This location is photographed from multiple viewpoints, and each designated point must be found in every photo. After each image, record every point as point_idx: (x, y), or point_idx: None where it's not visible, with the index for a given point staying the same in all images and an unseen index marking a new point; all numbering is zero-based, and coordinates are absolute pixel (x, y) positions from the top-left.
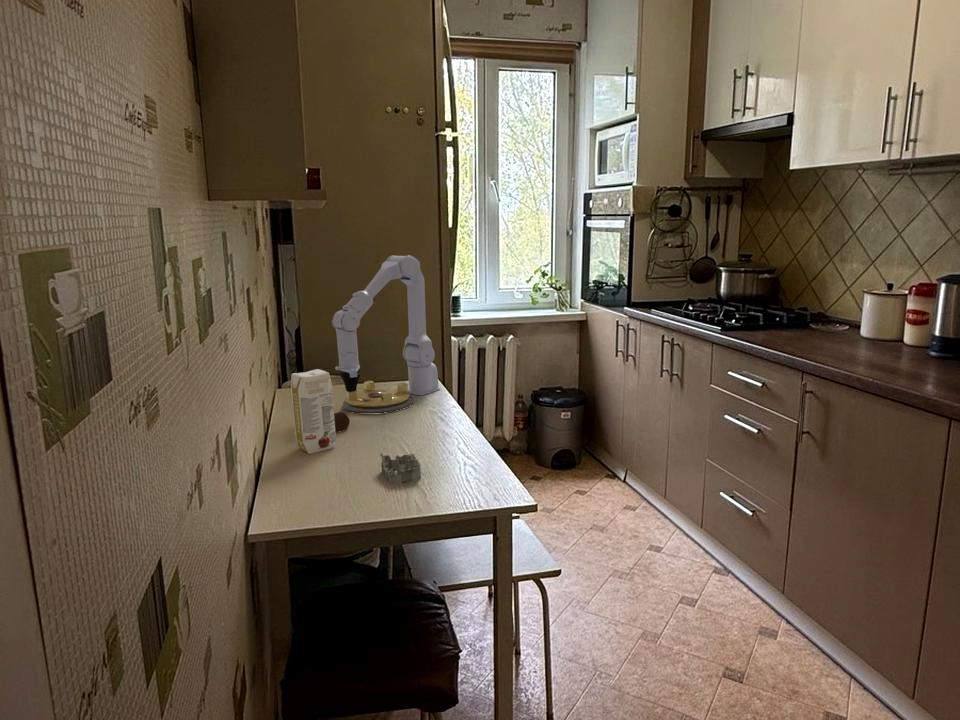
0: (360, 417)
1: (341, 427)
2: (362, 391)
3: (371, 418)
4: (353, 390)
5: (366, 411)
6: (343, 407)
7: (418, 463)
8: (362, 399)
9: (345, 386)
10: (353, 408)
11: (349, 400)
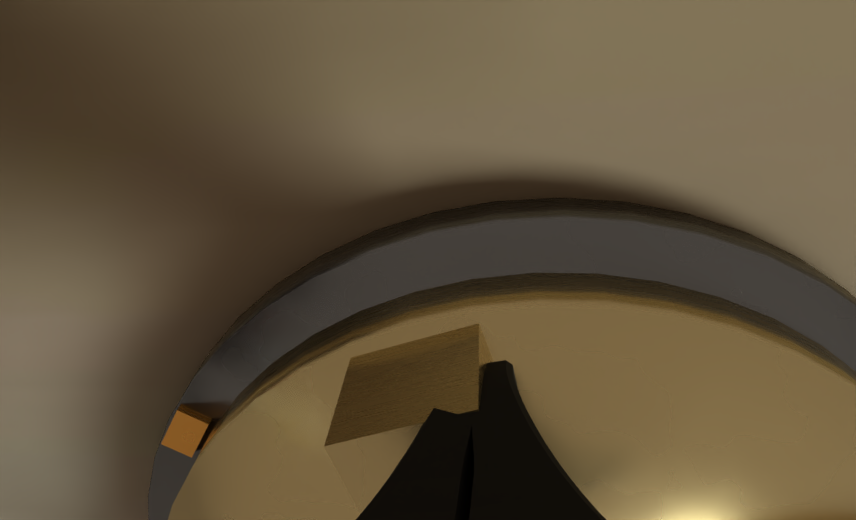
0: (56, 391)
1: None
2: (851, 512)
3: (23, 478)
4: None
5: (159, 466)
6: (465, 213)
7: None
8: None
9: (449, 466)
10: (242, 356)
11: (352, 361)
